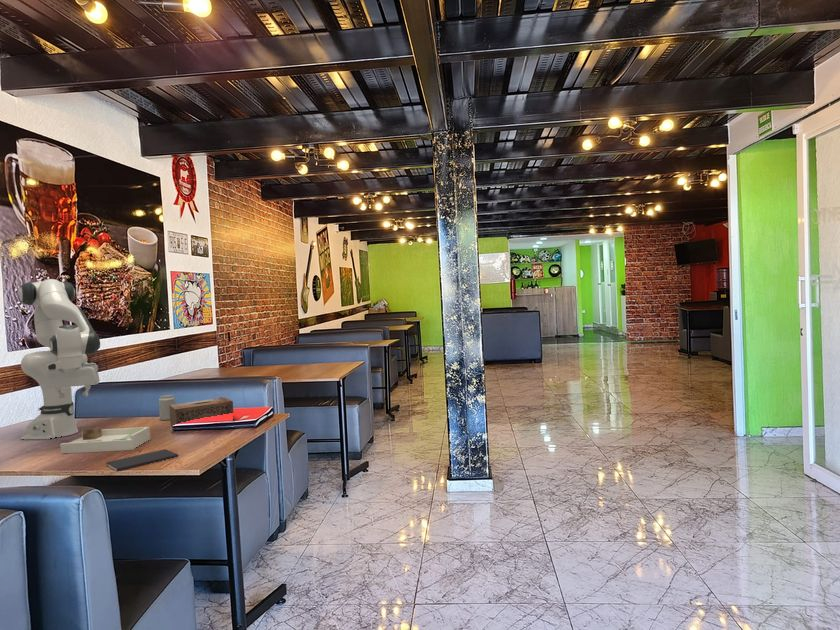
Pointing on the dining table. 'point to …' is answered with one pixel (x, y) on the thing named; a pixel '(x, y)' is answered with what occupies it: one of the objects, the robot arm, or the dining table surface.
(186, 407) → the tissue box cover
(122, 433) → the box
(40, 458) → the dining table surface
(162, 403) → the can
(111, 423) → the dining table surface
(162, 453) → the notebook
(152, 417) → the dining table surface
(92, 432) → the walnut block
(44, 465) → the dining table surface
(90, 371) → the robot arm
